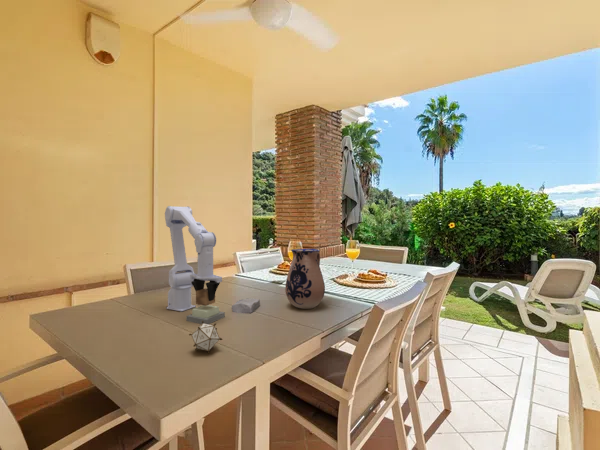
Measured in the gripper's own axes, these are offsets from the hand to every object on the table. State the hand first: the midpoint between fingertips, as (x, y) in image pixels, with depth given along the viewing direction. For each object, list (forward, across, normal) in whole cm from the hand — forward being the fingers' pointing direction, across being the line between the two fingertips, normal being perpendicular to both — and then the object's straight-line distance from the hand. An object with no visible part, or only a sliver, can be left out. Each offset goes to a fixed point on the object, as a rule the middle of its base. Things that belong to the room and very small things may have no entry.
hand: (205, 299), depth 115 cm
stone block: (+8, +6, +18) cm, 20 cm away
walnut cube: (+2, 0, 0) cm, 2 cm away
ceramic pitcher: (+8, +27, +34) cm, 44 cm away
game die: (+8, +20, -21) cm, 30 cm away
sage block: (+6, 0, 0) cm, 6 cm away
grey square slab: (+8, 0, 0) cm, 8 cm away
